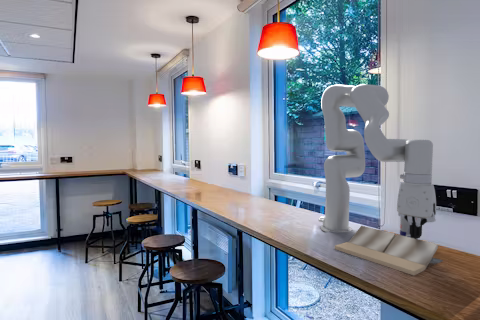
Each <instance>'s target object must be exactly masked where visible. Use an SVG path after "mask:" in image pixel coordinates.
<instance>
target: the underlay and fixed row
mask: <svg viewBox="0 0 480 320" xmlns="http://www.w3.org/2000/svg"><path fill="white" fill-rule="evenodd" d="M334 250H335V251H338V253H344V254H347V255H348V256H349V257H352V259H357V260H358V258H359V259H360V260H361V261H362V260H365V261H367V262H368V261H369V262H368V263H370V262H371V263H374V264H375V265H376V266H378V265H380V266H384V267H383V268H386V267H387V268H389V269H393V270H396V271H399V272H400V273H399V274H402V275H403V276H406V277H410V278H411V277H412V276H416V275H418V274H420V273H422V272H424V271H426V270H427V269H428V268H429V269H430V266H431V267H433V266H434V265H437V264H440V263H441V262H444V260H442V259H440V258H435V257H432V259H431V261H430V262H429V265H430V266H429V265H428V266H427V268H426V265H423V264H419V263H416V262H413V261H409V260H406V259H403V258H400V257H396V256H393V255H390V254H386V253H383V252H380V251H376V250H373V249H370V248H366V247H363V246H360V245H356V244H353V243H350V242H349V241H346V242H343V243H338V244H335V245H334Z"/></svg>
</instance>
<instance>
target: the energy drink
mask: <svg viewBox="0 0 480 320" xmlns="http://www.w3.org/2000/svg"><path fill="white" fill-rule="evenodd" d="M399 217H400V221H399V222H400V223H399V224H400V225H399V235H402V236H406V237H410V236H411V234H410V225H409V224H408V222H407V220H406V219H405V218H403V217H401V216H399ZM416 221H417V217H416ZM410 238H411V237H410Z"/></svg>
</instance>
